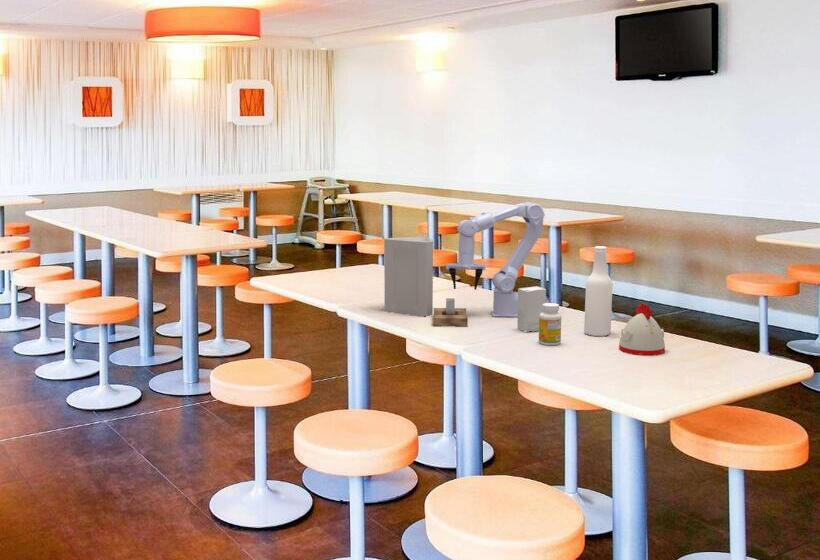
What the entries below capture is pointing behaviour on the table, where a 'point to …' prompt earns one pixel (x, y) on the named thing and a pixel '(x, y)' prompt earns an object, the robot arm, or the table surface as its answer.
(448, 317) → the well block
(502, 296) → the robot arm
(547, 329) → the supplement bottle
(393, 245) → the tall grey carton
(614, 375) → the table surface
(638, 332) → the kitchen timer
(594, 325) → the alcohol
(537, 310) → the skincare box
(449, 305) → the brushed metal block
